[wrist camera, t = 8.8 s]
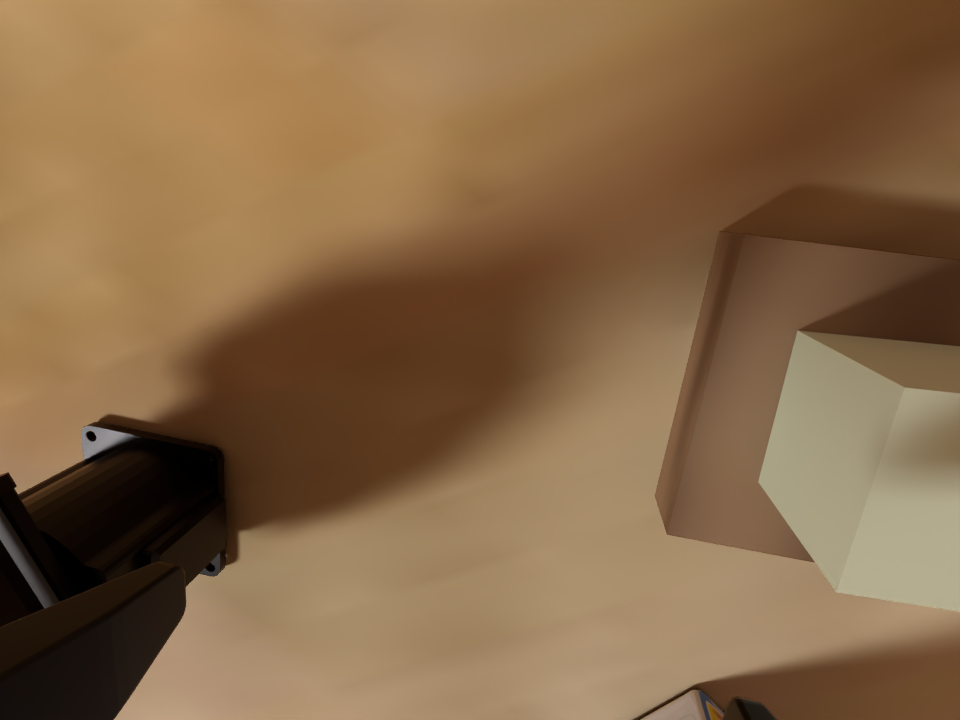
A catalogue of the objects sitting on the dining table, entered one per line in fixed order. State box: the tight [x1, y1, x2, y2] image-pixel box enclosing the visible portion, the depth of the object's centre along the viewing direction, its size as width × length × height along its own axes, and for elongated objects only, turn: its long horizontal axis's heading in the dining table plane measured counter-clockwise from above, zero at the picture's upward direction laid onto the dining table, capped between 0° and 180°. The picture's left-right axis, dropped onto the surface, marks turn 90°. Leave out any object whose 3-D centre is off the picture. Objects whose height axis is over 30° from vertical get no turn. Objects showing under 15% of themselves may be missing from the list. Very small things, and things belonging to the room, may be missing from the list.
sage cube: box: [758, 331, 960, 612], centre depth 13 cm, size 5×5×5 cm
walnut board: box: [655, 231, 960, 562], centre depth 17 cm, size 10×10×3 cm
